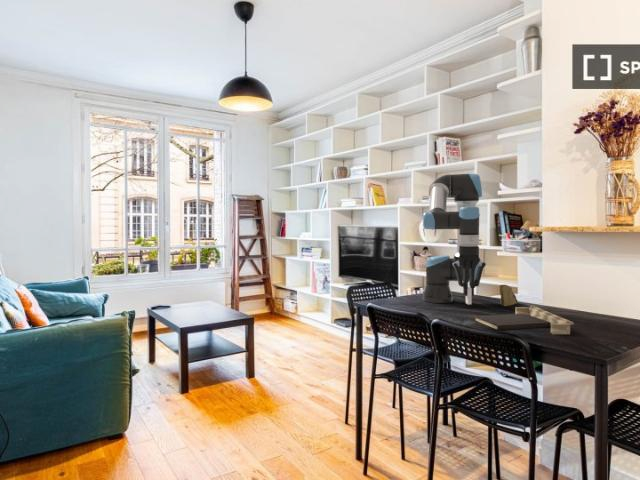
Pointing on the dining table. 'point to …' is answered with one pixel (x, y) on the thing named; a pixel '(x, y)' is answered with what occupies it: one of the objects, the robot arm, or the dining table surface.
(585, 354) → the dining table surface
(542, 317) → the beige notched bar
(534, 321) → the hardcover book
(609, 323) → the dining table surface
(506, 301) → the rock
